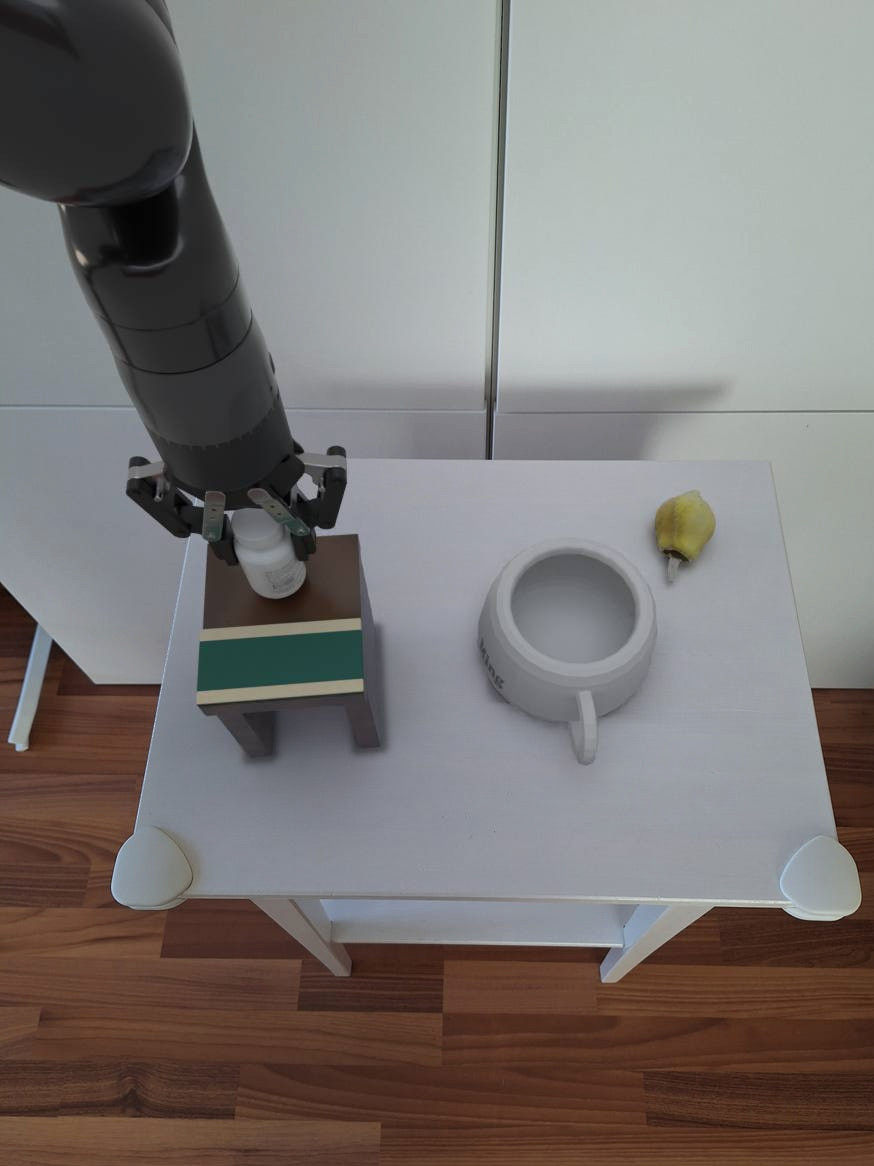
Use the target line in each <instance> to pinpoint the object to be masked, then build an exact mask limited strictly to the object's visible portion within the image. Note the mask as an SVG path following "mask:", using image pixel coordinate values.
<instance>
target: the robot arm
mask: <svg viewBox="0 0 874 1166" xmlns="http://www.w3.org/2000/svg"><path fill="white" fill-rule="evenodd" d="M170 16H171V15H170V12H169V9H168V5H167V1H166V0H0V187H3V188H5V189H7V190H10V191H13V192H15V193H18V194H21V195H24V196H26V197H30V198H32V199H33V198H34V199H36V200H40V201H43V202H48V203H52V204H56V208H57V210H58V214H59V219H60V223H61V230H62V235H63V240H64V246H65V249H66V254H67V257H68V260H69V263H70V266H71V269H72V272H73V275H74V277H75V280H76V282H77V284H78V287H79V288H80V290H81V292H82V295H83V297H84V299H85V301H86V303H87V305H88V308H89V309H90V311H91V313H92V315H93V317H94V319H95V321H96V323H97V325H98V327H99V329H100V331H101V333H102V335H103V337H104V339H105V340H106V342H107V344H108V346H109V348H110V352H111V354H112V357H113V360H114V364H115V367H116V370H117V373H118V376H119V379H120V380H121V383H122V384H123V387H124V389H125V391H126V393H127V395H128V396H129V399H130V400H131V402H132V404H133V407H134V409H135V410H136V412H137V414H138V416H139V418H140V420H141V423H142V424H143V425H144V427H145V430H146V431H147V433H148V435H149V437H150V439H151V441H152V443H153V445H154V447H155V449H156V451H157V453H158V454H159V457H160V458H161V460H159V461H155V462H151V461H150V460H149V459H148V458H146V457H144V456H141V455H139V456H138V455H136V456H135V455H134V456H132V457H130V458H129V461H128V468H127V479H126V487H125V496H127V497H128V498H129V499H130V500H131V501H133V502H134V503H135V504H136V505H137V506H139V507H140V508H141V509H142V510H143V511H144V512H146V513H147V514H148V515H149V517H152V519H154V520H155V521H156V522H157V523H158V524H160V525H161V526H162V527H163V528H164V529H165V530H166V531H167V532H169V533H170V534H171V535H172V536H173V537H175V538H178V539H187V538H190V537H191V536H192V534H196V535H200V536H201V538H202V539H203V540H204V541H207V543H209V544H210V546H211V548H212V550H213V552H214V554H215V556H216V557H217V558H218V559H220V560H225V561H226V563H227V565H228V566H237V565H239V560H238V557H237V555H236V553H235V550H234V545H233V539H234V532H233V529H232V526H231V518H230V517H229V515H228V513H225V512H231V511H233V512H234V511H235V510H240V509H244V508H255V509H264V510H265V511H266V512H267V513H268V514H269V515H270V516H271V517H272V518H273V519H274V520H275V521H276V522H277V523H278V524H280V523H284V524H285V525H286V526H287V527H288V529H289V530H290V531H291V540H292V542H293V545H294V548H295V551H296V554H297V557H298V560H299V562H300V561H309V554H315V552H316V536H317V532H316V528H318V529H321V530H326V531H327V530H332V529H334V528H335V527H336V523H337V520H338V517H339V513H340V510H341V507H342V502H343V499H344V495H345V492H346V488H347V484H348V469H347V468H348V467H347V463H348V462H347V450H346V448H344V447H343V446H341V445H332V446H329V447H328V448H327V449H326V453H325V454H322V453H321V454H320V453H312V452H305V449H304V447H303V446H302V445H301V444H300V443H299V442H298V441H296V439H295V438H294V437H293V435H292V433H291V428H290V426H289V422H288V418H287V415H286V414H287V413H286V411H285V407H284V402H283V400H282V399H283V398H282V396H281V391H280V389H279V385H278V381H277V377H276V367H275V363H274V360H273V356H272V354H271V352H270V351H269V349H268V345H267V342H266V339H265V336H264V333H263V332H262V328H261V327H260V325H259V322H258V321H257V319H256V316H255V314H254V312H253V309H252V306H251V302H250V299H249V295H248V291H247V288H246V285H245V281H244V277H243V274H242V270H241V266H240V263H239V260H238V257H237V252H236V250H235V247H234V245H233V242H232V239H231V237H230V234H229V231H228V228H227V226H226V224H225V221H224V219H223V215H222V214H221V211H220V208H219V206H218V203H217V200H216V198H215V195H214V193H213V190H212V187H211V184H210V181H209V177H208V173H207V170H206V165H205V161H204V157H203V151H202V147H201V143H200V139H199V135H198V130H197V125H196V121H195V117H194V113H193V106H192V105H193V104H192V98H191V94H190V89H189V85H188V81H187V77H186V73H185V70H184V65H183V62H182V58H181V55H180V51H179V48H178V44H177V39H176V36H175V32H174V29H173V24H172V20H171V17H170ZM304 474H306V475H309V477H311V479H312V480H311V481H312V483H313V484H314V485H315V486H317V491H316V497H314V498H311V499H309V498H308V497H307V495H305V493H304V492H303V491H302V490H301V488H300V487H299V486H298V482H299V481H300V480H301V478H302V477H303V476H304ZM183 492H184V493H183ZM185 493H187V494H188V495H190V496H192V497H193V498H196V499H197V500H200V501H202V502H203V506H199V505H194V503H193V501H192V500H191V499H189V497H188V496H187V495H185Z"/></svg>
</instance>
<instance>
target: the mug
mask: <svg viewBox="0 0 874 1166" xmlns="http://www.w3.org/2000/svg"><path fill="white" fill-rule="evenodd" d="M656 606H657V604H656V601H655V599H654V596H653V593H652V590H651V587H650V585H649V583H648V582H647V580H646V579H645V577H644V576H643V574H642V573H641V571H640V570H639V569H638V568H637V566H636V565H635V564H634V563H633V562H632V561H630V560H629V559H628V558H627V557H626V556H624V554H623V553H621V552H619V551H617V550H615V549H614V548H612V547H611V546H608V545H606V544H605V543H603V542H599V541H595V540H591V539H588V538H585V537H568V536H562V537H557V538H551V539H546V540H543V541H540V542H538V543H536V544H533V545H530V546H528V547H526V548H524V549H522V550H521V551H519V553H517V554H516V555H515V556H513V557H512V558H511V559H510V560H508V561H507V563H506V564H505V565H504V566H503V568H502V569H501V570H500V572H499V573H498V574H497V576H496V577H495V579H494V580H493V582H492V583H491V584H490V586H489V589H488V592H487V594H486V597H485V599H484V603H483V605H482V608H481V611H480V614H479V618H478V622H477V641H476V645H477V649H478V653H479V657H480V661H481V665H482V667H483V669H484V671H485V674H486V675H487V677H488V679H489V680H490V682H491V684H492V685H493V687H494V689H495V690H496V691H497V692H498V693H499V695H501V696H502V697H503V698H504V699H505V700H506V701H507V703H509V704H510V705H511V706H513V707H515V708H516V709H518V710H520V711H521V712H523V713H525V714H527V715H528V716H530V717H533V718H537V719H540V720H544V721H546V722H550V723H557V724H558V723H561V724H564V723H566V724H567V727H568V732H569V739H570V743H571V748H572V751H573V754H574V756H575V758H576V761H577V763H578V764H579V765H582V766H585V767H587V766H589V765H591V764H593V763H594V762H595V761H596V756H597V752H598V743H599V742H598V738H599V734H598V733H599V732H598V719H599V718H600V717H602V716H604V715H607V714H609V713H610V712H613V711H614V710H616V709H618V708H619V707H621V706H622V705H623V704H624V703H625V702H626V701H627V700H628V699H629V698H631V697H632V696H633V695H634V694H635V693H636V692H637V691H638V689H639V688H640V686H641V684H642V682H643V681H644V679H645V677H646V675H647V673H648V671H649V668H650V667H651V664H652V658H653V656H654V655H653V654H654V650H655V647H656V642H657V637H658V619H657V607H656Z"/></svg>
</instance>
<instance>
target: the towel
mask: <svg viewBox="0 0 874 1166" xmlns="http://www.w3.org/2000/svg"><path fill="white" fill-rule="evenodd" d="M198 640H199V645H198V661H197V662H198V663H197V679H196V680H197V681H196V694H195V695H196V696H195V697H196V698H195V704H196V706H197V707H198V708H199V707H203V706H215V705H228V704H241V703H253V702H266V701H278V700H291V699H304V698H316V697H329V696H341V695H354V694H364V676H363V651H362V625H361V618H353V619H339V620H325V621H312V622H298V623H284V624H270V625H257V626H243V627H229V628H215V629H203V628H202V629H199V639H198Z"/></svg>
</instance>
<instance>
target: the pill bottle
mask: <svg viewBox="0 0 874 1166" xmlns="http://www.w3.org/2000/svg"><path fill="white" fill-rule="evenodd" d="M230 521H231V526H232V529H233V532H234V539H233V545H234V550H235V553H236V555H237V557H238V560H239V562H240V564H241V566H242V568H243V570H244V572H245V574H246V577H247V579H248V581H249V583H250V585H251V587H252V588H253V589H254V590H255V591H256V592H257V593H258V594H260V595H262V596H264V597H267V598H274V599H278V598H283V597H287V596H289V595H291V594H293V593H294V592H296V591H297V590H298V589H299V588H300V587H301V585H302V584H303V582H304V579H305V576H306V566H305V563H304V561H300V562H299V560H298V557H297V554H296V551H295V548H294V545H293V542H292V540H291V531H290V530H289V529H288V527H287V526H286V525H285V524H284V523H280V524H278V523H277V522H276V521H275V520H274V519H273V518H272V517H271V516H270V515H269V514H268V513H267V512H266V511H265V510H264V509H255V508H244V509H240V510H235V511H233V513H232V515H231V518H230Z"/></svg>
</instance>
